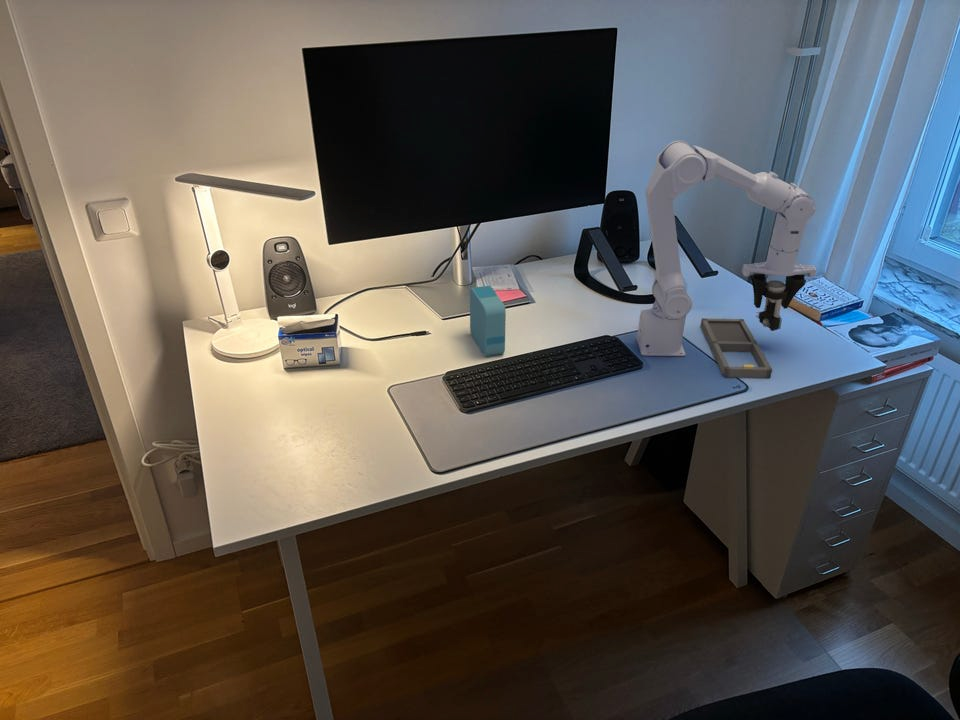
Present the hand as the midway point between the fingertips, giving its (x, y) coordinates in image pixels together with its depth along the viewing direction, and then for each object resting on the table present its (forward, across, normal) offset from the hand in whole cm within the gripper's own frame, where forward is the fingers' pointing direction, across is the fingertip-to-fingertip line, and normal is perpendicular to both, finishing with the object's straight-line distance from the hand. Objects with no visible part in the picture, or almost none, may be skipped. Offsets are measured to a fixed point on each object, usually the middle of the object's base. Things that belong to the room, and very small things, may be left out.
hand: (770, 306), depth 157 cm
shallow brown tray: (+10, +7, +2) cm, 12 cm away
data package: (+10, +61, +1) cm, 62 cm away
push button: (+5, 0, 0) cm, 5 cm away
